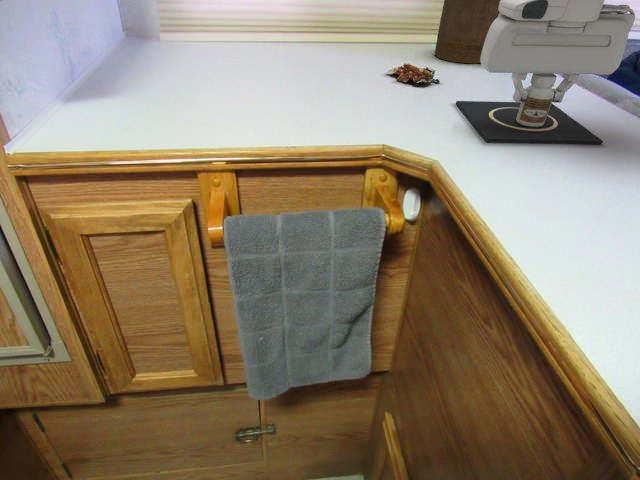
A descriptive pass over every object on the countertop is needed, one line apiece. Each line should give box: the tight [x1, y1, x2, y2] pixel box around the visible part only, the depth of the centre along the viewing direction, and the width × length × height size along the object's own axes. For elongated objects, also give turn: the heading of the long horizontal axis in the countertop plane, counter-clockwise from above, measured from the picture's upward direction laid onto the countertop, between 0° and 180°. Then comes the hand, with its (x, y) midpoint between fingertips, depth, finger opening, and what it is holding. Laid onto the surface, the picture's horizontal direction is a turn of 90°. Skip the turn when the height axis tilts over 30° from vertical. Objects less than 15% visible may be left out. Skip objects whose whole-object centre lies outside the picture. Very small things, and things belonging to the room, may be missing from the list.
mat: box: [455, 100, 603, 145], centre depth 72 cm, size 18×18×1 cm
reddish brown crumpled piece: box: [386, 62, 441, 84], centre depth 92 cm, size 7×12×4 cm, turn 42°
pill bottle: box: [516, 73, 558, 127], centre depth 68 cm, size 4×4×8 cm
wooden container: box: [434, 0, 503, 65], centre depth 104 cm, size 15×15×22 cm
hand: (536, 101), depth 68 cm, fingers closed on pill bottle, 4 cm apart
